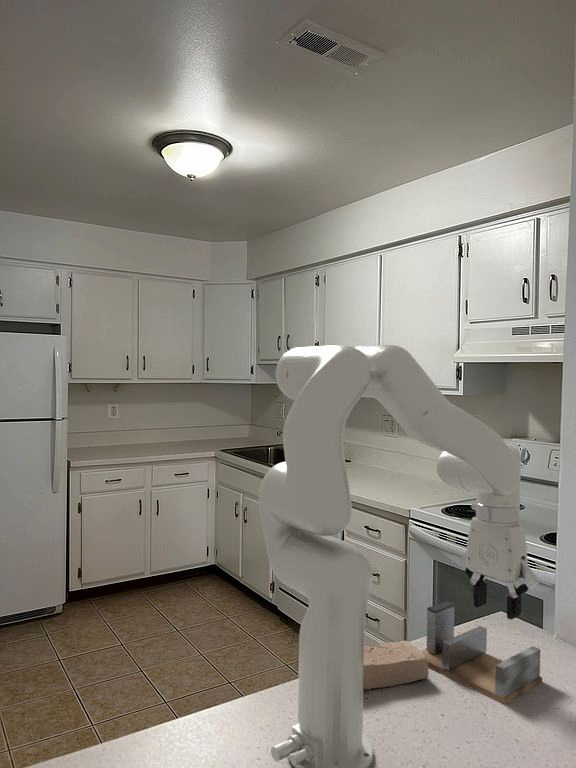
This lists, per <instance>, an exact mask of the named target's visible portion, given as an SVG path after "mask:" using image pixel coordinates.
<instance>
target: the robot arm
mask: <svg viewBox="0 0 576 768" xmlns="http://www.w3.org/2000/svg"><path fill="white" fill-rule="evenodd" d="M275 380H276V381H275V382H276V384H277V386H278V388H279V391H280V392H282V393H283V395H284V396H286V397H287V398H288V399H290V400H293V401H294V402H293V404H292V405H291V407H290V409H289V411H288V414H287V416H286V419H285V421H284V425H283V433H282V443H283V444H282V445H283V452H284V453H283V454H284V460H285V461H282V462H279V463H277V464H275V465H273V466H272V467H271V468H270V469H269V470H268V471H267V473H265V475H264V477H263V478H262V480H261V484H260V487H259V493H258V505H259V507H258V508H259V513H260V519H261V526H262V531H263V536H264V541H265V546H266V552H267V557H268V561H269V565H270V568H271V570H272V573H273V574H274V576H275V577H276V578H277V580H278V581H280V582H281V583H282V584H283V585H285V586H286V587H288V588H289V589H292V590H293V591H295V592H297V593H298V594H301V595H302V596H303V597H306V598H307V599H308V607H307V610H306V613H305V615H304V617H303V618H302V620H301V624H300V627H299V635H298V636H299V637H298V695H297V697H298V699H297V701H298V702H297V703H298V704H297V709H298V710H297V723H296V724H294V725H292V726H291V727H292V728H291V729H292V730H291V731H292V732H291V734H290V735H289V736H288V737H287V740H286V741H282V742H280V743H277V744H276V745H273V746H271V748H270V754H271V757H272V759H273V761H274V762H277V763H278V762H279V761H282V760H284V759H286V758H288V760H289V762H290V763H291V765H292V766H293V767H294V768H369V767H370V766H371V765H372V763H373V760H374V749H373V745H372V742H371V740H370V739H369V738H368V736H367V735H366V734H364V733H363V728H364V727H363V726H364V725H363V723H364V722H363V721H364V689H363V676H364V646H365V626H366V615H367V610H368V609H367V608H368V603H369V599H370V595H371V591H372V586H373V569H372V565H371V563H370V561H369V559H368V557H367V556H366V554H365V553H364V552H363V551H362V550H361V549H360V548H358V547H356V545H353V544H352V543H349V542H348V541H345V540H342V539H340V538H337V537H335V536H336V535H338V534H340V533H342V532H343V531H344V530H346V528H347V527H348V525H349V523H350V521H351V519H352V512H353V511H352V510H353V508H352V507H353V506H352V495H351V490H350V489H351V488H350V483H349V477H348V471H347V464H346V458H345V449H344V429H345V425H346V422H347V419H348V418H349V415H350V413H351V412H352V410H353V408H354V407H355V406H356V404H357V403H358V401H360V399H361V398H373V399H375V400H376V401H378V402H379V403H380V404H381V405H382V406H383V408H384V409H385V410H386V411H387V412H388V413H389V414H390V416H391V417H393V419H394V420H395V421H396V422H397V424H398V425H399V426H400V427H401V428H402V429H403V430H404V431H405V432H406V434H407V435H408V436H409V437H411V438H412V439H414V440H416V441H418V442H419V443H421V444H424V445H426V446H428V447H430V448H433V449H435V450H438V451H441V454H440V455H439V457H438V459H437V461H436V466H435V467H436V473H437V476H438V478H439V479H440V480H441V482H443V483H444V484H445V485H447V486H449V487H452V488H455V489H459V490H463V491H467V492H474V493H476V495H475V498H476V499H475V500H476V501H475V502H472V503H471V505H470V507H471V509H472V510H474V511H475V516H473V517H472V518H471V520H470V521H471V522H470V524H469V525H470V526H469V530H468V533H467V534H468V535H467V542H466V553H464V554H463V555H462V556H461V557H460V558H459V560H458V561H459V563H460V564H461V566H462V567H463V570H465V573H466V574H467V576H468V578H469V579H470V581H469V582H470V584H471V585H472V586H473V587H472V588H473V591H472V593H473V595H472V598H473V607H475V608H479V607H482V606H484V605H486V604H487V602H488V599H487V598H488V595H487V593H488V584H487V582H485V579H486V577H487V578H490V579H494V580H496V581H497V580H498V581H501V582H504V583H506V585H507V589H508V591H509V596H507V598H506V606H507V607H506V617H507V619H508V620H510V621H511V620H514V619H516V618H518V617H520V615H521V613H522V596H524V595H525V594H526V593H527V592H528V591H530V590H532V588H534V587H535V586H536V585H537V584H539V583H540V580H539V578H538V577H537V576H536V574H535V573H534V571H533V569H531V568H530V565H529V564H528V548H527V540H526V539H527V538H526V533H525V528H524V525H523V523H522V522H521V469H522V468H521V467H522V465H521V463H522V462H521V461H522V460H521V458H522V457H521V452H520V451H519V449H518V448H516V447H514V446H511V445H508V444H507V443H506V442H505V441H504V439H503V438H502V436H500V434H498V432H496V431H495V430H494V429H492V427H490V426H488V425H487V424H486V423H484V422H482V421H481V420H479V419H478V418H476V417H474V416H473V415H471V414H470V413H468V412H467V411H465V410H464V409H462V408H460V407H459V406H456V405H454V404H453V403H452V402H450V401H449V400H448V398H446V397H445V395H444V394H443V393H442V391H441V390H440V389H439V388H438V386H437V385H436V384H435V383H434V381H433V380H432V378H430V376H429V375H428V374H427V372H426V371H425V370H424V369H423V368H422V366H421V365H420V364H419V362H418V361H417V360H416V359H415V357H413V355H412V354H411V353H410V352H409V351H408V350H407V349H405V348H403V347H401V346H398V345H394V344H377V345H376V344H374V345H373V344H371V345H354V346H350V345H344V344H343V345H341V344H338V345H337V344H336V345H334V344H333V345H332V344H331V345H320V346H319V345H318V346H317V345H316V346H301V347H293V348H292V349H290V350H288V351H287V352H285V353H284V354H283V355H282V356H281V357H280V359H279V360H278V362H277V365H276V369H275ZM524 578H525V581H524V582H522V579H524Z"/></svg>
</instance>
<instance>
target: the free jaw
mask: <svg viewBox="0 0 576 768" xmlns="http://www.w3.org/2000/svg"><path fill="white" fill-rule="evenodd" d="M426 612H427V613H426V614H427V615H426V617H427V618H426V648H427V651H428V652H431V653H433V654H437V653H439V652H443V654H442V667H443V668H445V669H447V670H451V669H453V668H455V667H457V666H459V665H461V664H463V663H465V662H467V661H469V660H471V659H473V658H475V657H477V656H479V655H481V654H484V653H486V654H487V646H488V645H487V641H488V640H487V638H488V637H487V636H488V633H487V632H488V628H487V627H484V626H482V625H478V626H476V627H474V628H472V629H470V630H467V631H465V632H463V633H460V634H458V635H455V603H453V602H450V601H447V600H445V601H442V602H439V603H436V604H434V605H432V606H428V607H427V608H426Z"/></svg>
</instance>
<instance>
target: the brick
mask: <svg viewBox="0 0 576 768" xmlns="http://www.w3.org/2000/svg"><path fill="white" fill-rule="evenodd" d="M421 651H422V650H421V649H419V648H417V646H415V645H414V644H413V643H412V642H410V641H409V640H401V641H396V642H395V641H390V642H385V643H381V644H377V645H375V646H371V645H364V676H363V690H371V689H379V688H386V687H394V686H397V685H404V684H407V683H408V684H410V683H412V682H416V681H419V680H426V679H428V678H429V674H430V673H429V667H428V662H427V661H426V656H425V655H424V654H423V652H421Z"/></svg>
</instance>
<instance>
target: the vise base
mask: <svg viewBox="0 0 576 768" xmlns="http://www.w3.org/2000/svg"><path fill="white" fill-rule="evenodd" d="M421 652H423V654H424V655H425V656H426V661H427V662H428V669H432V670H433V671H435V672H437V673H439V674H442V675H444V676H446V677H448V678H450V679H451V680H454V681H456V682H458V683H460V684H462V685H464V686H466V687H468V688H470V689H472V690H475V691H476V692H478V693H481V694H483V695H485V696H487V697H488V698H491V699H493V700H495V701H497V702H499V703H501V704H503V705H505V706H506V705H508V704H509V703H511V702H512V701H514V700H516V699H517V698H518V697H521V696H522V695H524V694H525V693H527V692H528V691H530V690H531V689H533V688H535V687H537V685H539V684H541V683H543V677H542V676H540V674H541V649H540V648H538V647H536V646H533V645H532V646H530V647H528V648H527V649H524V650H522V651H520V652H518V653H517V654H515V655H513V656H511V657H508V658H507V659H505V660H502V659H499V658H497V657H496V656H494V655H490V654H488V653H487V652H486V653H484V654H481V655H479V656H477V657H475V658H473V659H471V660H469V661H467V662H465V663H463V664H461V665H459V666H457V667H455V668H453V669H451V670H447V669H445V668H443V667H442V654H443V652H439V653H437V654H433V653H431V652H428V651H427V647H426V648H424V649H422V650H421ZM529 689H530V690H529ZM526 691H527V692H526Z"/></svg>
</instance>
